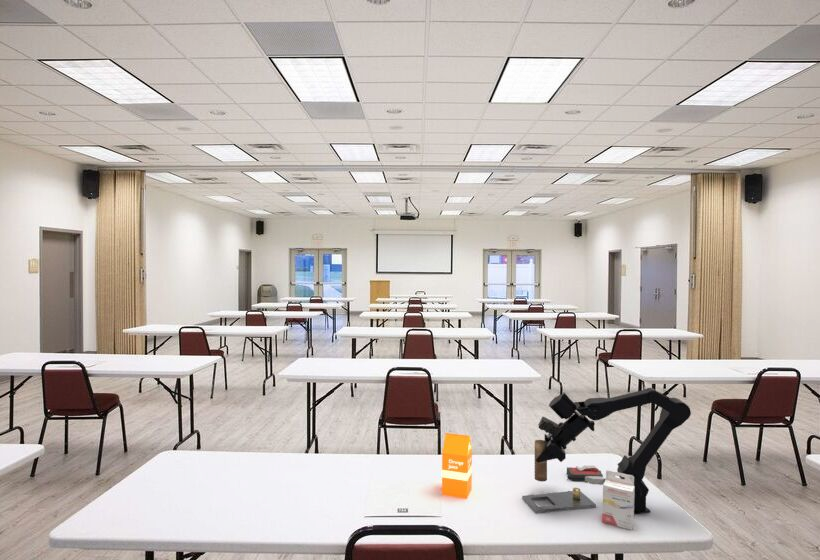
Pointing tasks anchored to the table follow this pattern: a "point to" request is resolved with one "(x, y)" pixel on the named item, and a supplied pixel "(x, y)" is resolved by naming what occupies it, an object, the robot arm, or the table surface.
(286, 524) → the table surface
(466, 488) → the orange juice
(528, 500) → the plate
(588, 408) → the robot arm
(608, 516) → the ink cartridge box
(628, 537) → the table surface
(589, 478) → the red gray flat block
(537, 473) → the peg
